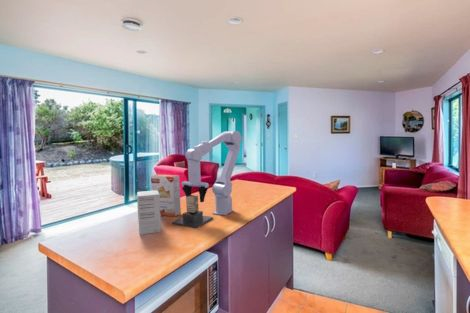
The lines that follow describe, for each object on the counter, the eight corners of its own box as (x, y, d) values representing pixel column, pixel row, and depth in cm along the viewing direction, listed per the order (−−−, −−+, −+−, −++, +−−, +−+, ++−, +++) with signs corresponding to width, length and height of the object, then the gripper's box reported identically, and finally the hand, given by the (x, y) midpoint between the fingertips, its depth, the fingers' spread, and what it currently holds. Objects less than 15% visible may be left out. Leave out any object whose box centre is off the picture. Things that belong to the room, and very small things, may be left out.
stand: (190, 215, 137) (189, 205, 137) (213, 219, 131) (212, 208, 130) (172, 224, 125) (171, 213, 124) (196, 228, 118) (196, 216, 118)
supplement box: (138, 228, 120) (136, 191, 119) (159, 225, 124) (158, 189, 122) (139, 235, 112) (136, 196, 110) (161, 232, 115) (159, 193, 113)
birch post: (191, 209, 130) (191, 194, 129) (198, 210, 128) (198, 195, 127) (186, 211, 126) (186, 196, 126) (193, 212, 124) (193, 197, 124)
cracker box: (152, 214, 140) (150, 175, 138) (159, 211, 146) (157, 174, 144) (174, 217, 135) (173, 176, 133) (181, 213, 141) (179, 174, 139)
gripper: (177, 174, 128) (178, 201, 129) (202, 175, 121) (203, 204, 122) (186, 172, 134) (187, 198, 135) (210, 173, 127) (211, 201, 129)
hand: (195, 201), depth 129 cm, fingers open, 7 cm apart
